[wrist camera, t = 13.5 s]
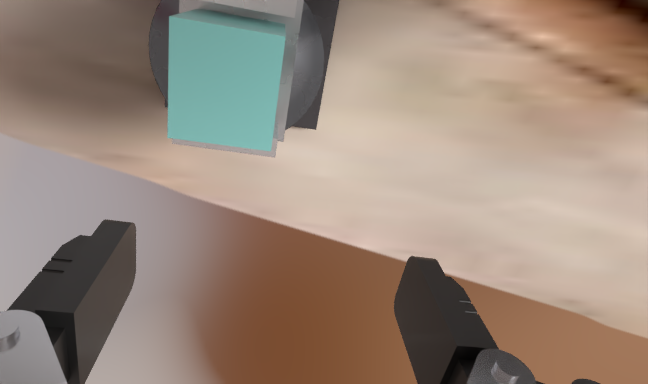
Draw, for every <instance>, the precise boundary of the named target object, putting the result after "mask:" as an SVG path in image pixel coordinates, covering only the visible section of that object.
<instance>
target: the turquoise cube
mask: <svg viewBox="0 0 648 384" xmlns="http://www.w3.org/2000/svg"><path fill="white" fill-rule="evenodd" d="M285 38H286V33H285V24H283V23H278V22H272V21H267V20H261V19H255V18H250V17H244V16H239V15H233V14H228V13H222V12H217V11H211V10H205V9H200V8H198V9H194V10H191V11H187V12H183V13H179V14H176V15H172V16H169V67H168V138H173V139H180V140H188V141H196V142H203V143H211V144H218V145H226V146H234V147H241V148H249V149H256V150H264V151H271V148H272V140H273V132H274V124H275V116H276V109H277V101H278V93H279V85H280V77H281V69H282V62H283V54H284V46H285Z"/></svg>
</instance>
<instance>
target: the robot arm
mask: <svg viewBox="0 0 648 384" xmlns="http://www.w3.org/2000/svg"><path fill="white" fill-rule="evenodd" d="M135 273H136V227H135V224H134V223H130V222H122V221H113V220H104V221H102V223H101V224H100V225H99V227H98V228H97V229H96V230H95V232H94V233H93V235H92V236H82V235H80V236H78V237H76V238H74V239H73V240H71V241H69V242H67V243H66V244H64V245H62V246H61V247H60V248H59V250H58V251H57V252H56V253H55V254H54V256H53V257H52V258H51V261H49V262H48V263H47V264H46V265H45V266H44V267H43V269H42V272H39V273H38V274H37V276H36V277H35V278H34V279H33V280H32V281H31V283H30V284H29V285H28V286H27V287H26V289H25V290H24V291H23V292H22V293H21V295H20V296H19V297H18V298H17V299H16V300H15V301H14V303H13V304H12V305H11V306H10V307H9V309H8V310H7V311H2V312H0V384H85V381H86V379H87V378H88V376H89V374H90V372H91V369H92V368H93V365H94V364H95V362H96V360H97V357H98V355H99V353H100V352H101V350H102V348H103V346H104V344H105V342H106V340H107V337H108V335H109V334H110V332H111V329H112V327H113V325H114V323H115V321H116V319H117V317H118V315H119V313H120V311H121V309H122V307H123V305H124V303H125V301H126V299H127V297H128V295H129V293H130V291H131V289H132V286H133V282H134V279H135ZM394 312H395V317H396V320H397V323H398V326H399V329H400V332H401V335H402V338H403V341H404V344H405V347H406V350H407V353H408V356H409V359H410V362H411V364H412V367H413V371H414V374H415V377H416V380H417V383H418V384H543V383H541V382H538V381H536V380H535V378H534V376H533V374H532V372H531V371H530V370H529V368H528V367H527V366H526V365H525V364H524V363H523V362H521V361H520V360H519V359H518V358H516V357H515V356H513V355H511V354H509V353H507V352H505V351H502V350H499V348H498V347H497V345H496V343H495V341H494V340H493V338H492V336H491V335H490V333H489V332H488V330H487V328H486V326H485V324H484V323H483V321H482V319H481V318H480V316H479V315H477V311H476V309H475V307H474V306H473V304H471V301H470V299H469V297H468V296H467V294H466V292H465V291H464V289H463V288H462V287H461V286H460V285H459V284H458V283H457V282H456V281H454V279H452V278H451V277H447V276H445V274H444V272H443V270H442V268H441V267H440V265H439V263H438V261H437V260H436V259H432V258H423V257H415V256H411V257H410V258H409V259H408V261H407V263H406V266H405V270H404V272H403V275H402V278H401V281H400V284H399V287H398V290H397V293H396V296H395V301H394ZM572 384H600V383H597V382H595V381H592V380H588V379H577V380H575V381H574V382H572Z"/></svg>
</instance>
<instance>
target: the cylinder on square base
mask: <svg viewBox="0 0 648 384" xmlns="http://www.w3.org/2000/svg"><path fill="white" fill-rule="evenodd" d="M338 4H339V0H161V2H160V3H159V5H158V7H157V9H156V12H155V14H154V17H153V20H152V24H151V29H150V35H149V55H150V62H151V67H152V71H153V74H154V77H155V80H156V82H157V84H158V86H159V88H160V90H161V92H162V94H163V95H164V97H165V107H167V108H168V67H169V16H172V15H176V14H179V13H183V12H187V11H191V10H194V9H198V8H200V9H205V10H211V11H217V12H222V13H228V14H233V15H239V16H244V17H250V18H255V19H261V20H267V21H272V22H278V23H283V24H285V33H286V38H285V46H284V54H283V62H282V69H281V77H280V85H279V93H278V101H277V109H276V116H275V124H274V132H273V140H272V148H271V151H264V150H256V149H249V148H241V147H234V146H226V145H218V144H211V143H203V142H196V141H188V140H180V139H173V138H172V144H179V145H186V146H193V147H201V148H208V149H216V150H223V151H230V152H238V153H245V154H253V155H260V156H267V157H275V155H276V148H277V141H282V142H283V140H284V133H285V130H286V129H288V128H290V127H291V126H295V127H302V128H309V129H315V130H316V126H317V121H318V115H319V110H320V104H321V98H322V93H323V87H324V82H325V76H326V71H327V65H328V59H329V54H330V48H331V43H332V37H333V31H334V26H335V20H336V15H337V9H338Z"/></svg>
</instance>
